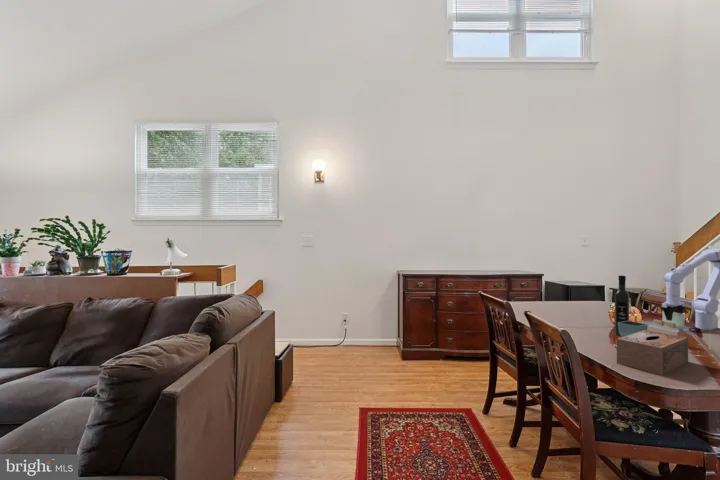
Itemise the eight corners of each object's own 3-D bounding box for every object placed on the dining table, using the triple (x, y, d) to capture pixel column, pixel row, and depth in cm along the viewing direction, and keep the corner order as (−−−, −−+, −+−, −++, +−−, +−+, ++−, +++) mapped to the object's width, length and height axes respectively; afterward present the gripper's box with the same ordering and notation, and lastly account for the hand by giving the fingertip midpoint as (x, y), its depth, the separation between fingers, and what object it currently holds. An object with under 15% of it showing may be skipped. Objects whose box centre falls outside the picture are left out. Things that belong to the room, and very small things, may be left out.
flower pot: (616, 340, 175) (616, 322, 175) (627, 338, 179) (627, 320, 179) (637, 345, 167) (637, 326, 167) (648, 343, 171) (648, 324, 171)
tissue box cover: (644, 352, 158) (645, 329, 158) (688, 362, 146) (688, 337, 146) (616, 364, 144) (616, 338, 144) (661, 375, 132) (661, 348, 132)
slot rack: (662, 325, 206) (662, 320, 206) (695, 332, 191) (695, 327, 191) (643, 327, 202) (643, 322, 202) (675, 334, 186) (675, 329, 186)
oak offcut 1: (655, 325, 200) (655, 319, 200) (664, 327, 196) (664, 321, 196) (652, 326, 200) (652, 319, 200) (661, 328, 195) (661, 321, 195)
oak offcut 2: (666, 328, 195) (666, 321, 195) (675, 330, 191) (675, 323, 191) (663, 328, 195) (663, 321, 194) (673, 330, 190) (673, 323, 190)
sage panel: (663, 324, 202) (663, 310, 202) (684, 329, 193) (684, 314, 193) (662, 325, 202) (662, 310, 202) (683, 329, 192) (683, 314, 192)
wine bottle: (628, 336, 182) (628, 276, 182) (614, 335, 186) (614, 275, 185) (629, 334, 187) (629, 275, 186) (615, 332, 190) (615, 275, 190)
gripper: (674, 292, 203) (674, 317, 203) (655, 294, 199) (655, 319, 199) (689, 294, 197) (688, 320, 197) (670, 296, 192) (670, 322, 192)
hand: (673, 319), depth 197 cm, fingers open, 6 cm apart
